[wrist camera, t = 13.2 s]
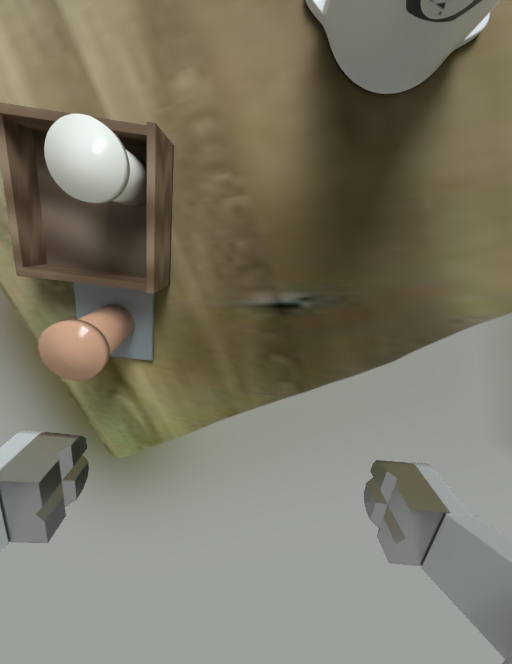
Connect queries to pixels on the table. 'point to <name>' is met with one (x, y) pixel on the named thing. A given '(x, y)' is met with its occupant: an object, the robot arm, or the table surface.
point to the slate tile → (130, 299)
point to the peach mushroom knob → (85, 342)
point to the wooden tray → (85, 209)
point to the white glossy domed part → (94, 162)
